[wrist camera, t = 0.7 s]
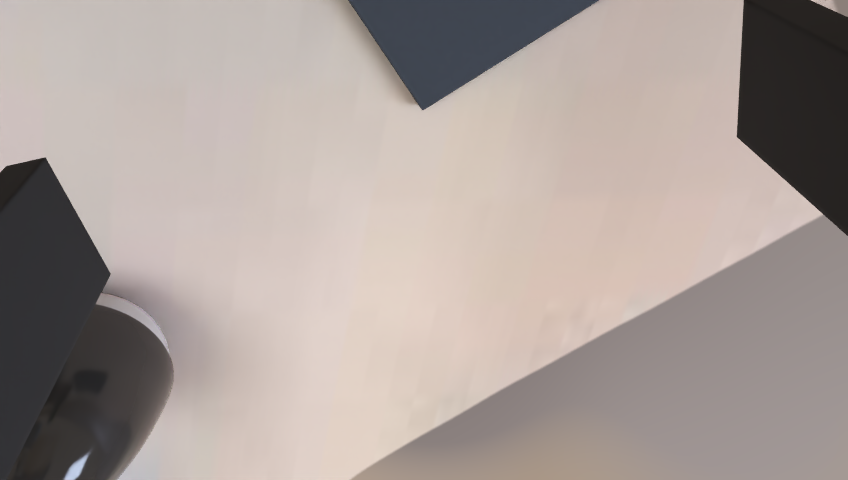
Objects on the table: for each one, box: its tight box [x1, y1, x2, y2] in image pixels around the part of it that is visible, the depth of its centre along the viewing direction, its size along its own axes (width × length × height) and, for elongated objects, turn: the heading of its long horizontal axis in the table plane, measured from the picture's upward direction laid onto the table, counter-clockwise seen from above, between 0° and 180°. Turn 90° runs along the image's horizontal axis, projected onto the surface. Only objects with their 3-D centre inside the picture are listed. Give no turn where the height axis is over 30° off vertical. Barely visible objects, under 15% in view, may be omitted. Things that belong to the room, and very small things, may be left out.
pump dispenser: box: [7, 293, 174, 480], centre depth 40 cm, size 10×10×15 cm
